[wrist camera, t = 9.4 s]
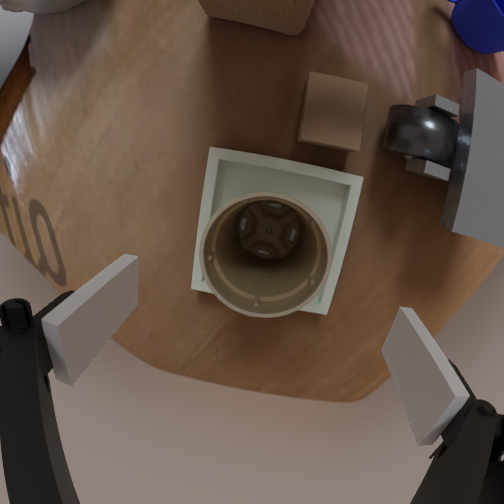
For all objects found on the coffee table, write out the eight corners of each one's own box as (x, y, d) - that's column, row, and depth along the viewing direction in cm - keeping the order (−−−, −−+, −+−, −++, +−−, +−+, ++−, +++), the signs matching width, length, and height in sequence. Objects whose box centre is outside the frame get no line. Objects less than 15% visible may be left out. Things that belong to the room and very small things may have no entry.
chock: (305, 83, 25) (309, 70, 21) (355, 93, 25) (368, 84, 21) (297, 141, 27) (300, 138, 23) (347, 151, 27) (359, 150, 23)
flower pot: (324, 266, 30) (338, 307, 22) (232, 282, 31) (217, 325, 23) (308, 173, 27) (321, 180, 19) (211, 192, 29) (184, 207, 21)
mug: (430, -29, 18) (465, -65, 9) (502, 38, 20) (549, 21, 10) (405, 1, 21) (442, -40, 11) (483, 74, 22) (537, 59, 12)
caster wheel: (385, 66, 24) (420, 39, 16) (480, 108, 23) (529, 102, 15) (362, 197, 28) (393, 214, 20) (460, 225, 28) (505, 249, 20)
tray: (214, 147, 28) (209, 146, 26) (357, 175, 28) (363, 177, 26) (196, 280, 32) (190, 288, 30) (324, 304, 32) (326, 314, 30)
